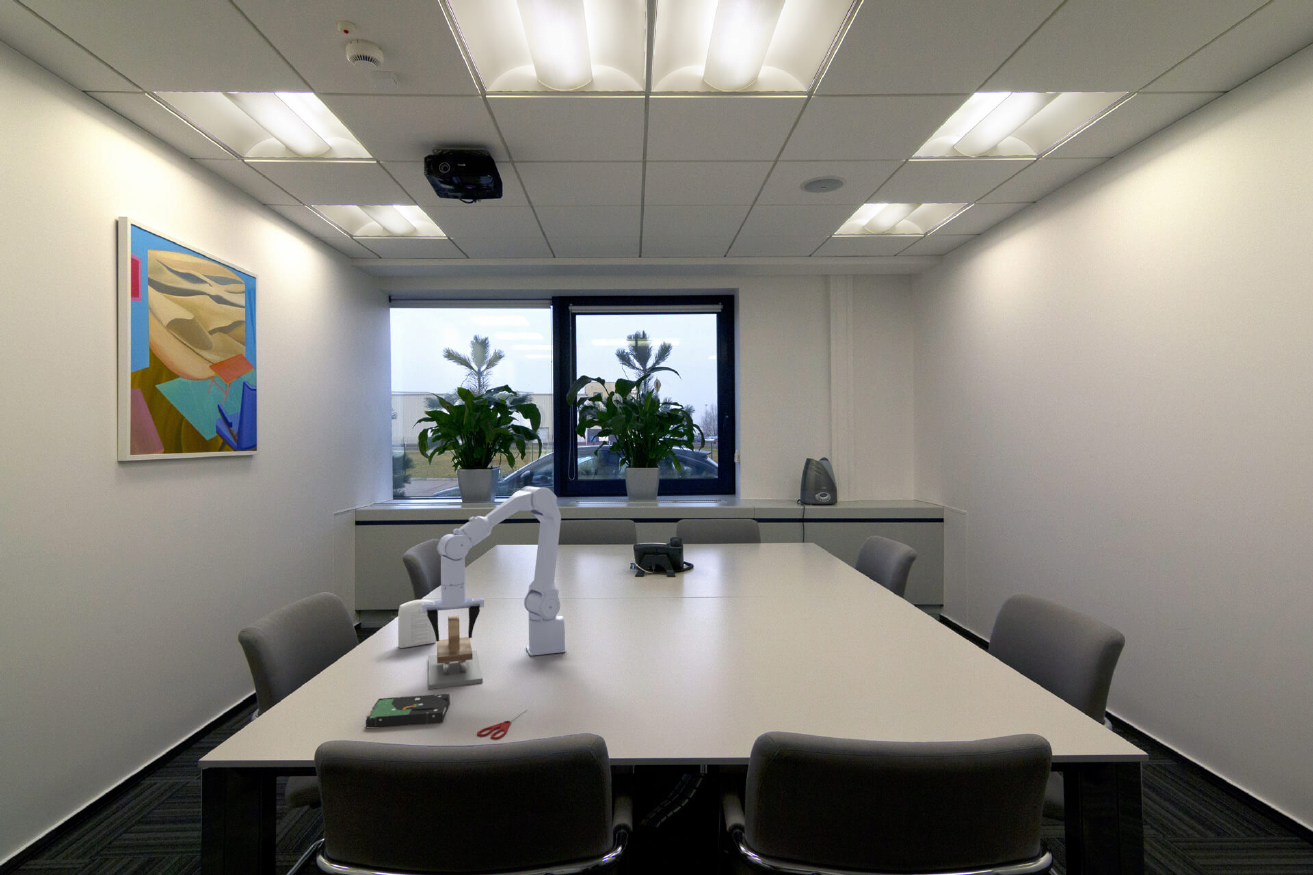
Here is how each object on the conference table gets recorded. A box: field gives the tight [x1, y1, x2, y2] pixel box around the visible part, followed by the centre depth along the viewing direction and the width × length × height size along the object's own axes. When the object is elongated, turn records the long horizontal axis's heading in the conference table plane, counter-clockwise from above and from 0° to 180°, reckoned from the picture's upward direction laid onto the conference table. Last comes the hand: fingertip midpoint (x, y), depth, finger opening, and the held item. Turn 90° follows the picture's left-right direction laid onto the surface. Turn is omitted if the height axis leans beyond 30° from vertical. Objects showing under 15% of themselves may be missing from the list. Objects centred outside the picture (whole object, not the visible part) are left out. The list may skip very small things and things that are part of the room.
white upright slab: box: [397, 599, 437, 649], centre depth 188 cm, size 10×4×12 cm, turn 123°
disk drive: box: [365, 693, 451, 729], centre depth 139 cm, size 10×3×15 cm
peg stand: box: [428, 650, 484, 690], centre depth 166 cm, size 12×22×4 cm, turn 19°
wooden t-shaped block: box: [436, 614, 473, 664], centre depth 166 cm, size 14×8×8 cm, turn 19°
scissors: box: [476, 709, 528, 741], centre depth 135 cm, size 5×14×1 cm, turn 157°
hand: (453, 638), depth 166 cm, fingers open, 7 cm apart
